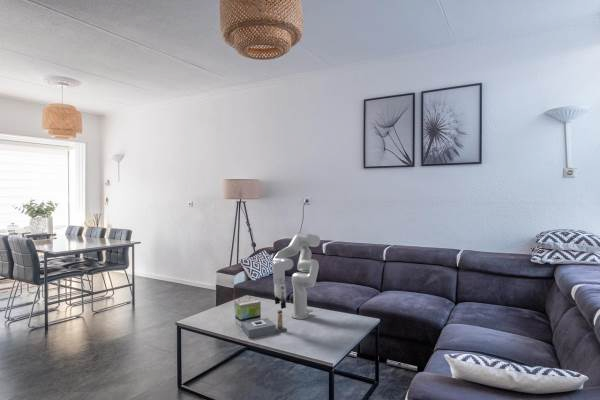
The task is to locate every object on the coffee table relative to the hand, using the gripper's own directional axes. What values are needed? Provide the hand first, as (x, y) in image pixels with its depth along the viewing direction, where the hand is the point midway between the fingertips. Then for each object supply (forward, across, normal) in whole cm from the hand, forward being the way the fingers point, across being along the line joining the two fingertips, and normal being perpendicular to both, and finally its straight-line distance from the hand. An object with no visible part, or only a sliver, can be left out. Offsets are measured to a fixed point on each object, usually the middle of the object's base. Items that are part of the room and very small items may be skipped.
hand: (280, 305), depth 233 cm
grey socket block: (+15, +4, +14) cm, 21 cm away
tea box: (+16, +23, +15) cm, 32 cm away
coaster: (+16, -1, +1) cm, 16 cm away
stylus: (+15, -1, +1) cm, 15 cm away
